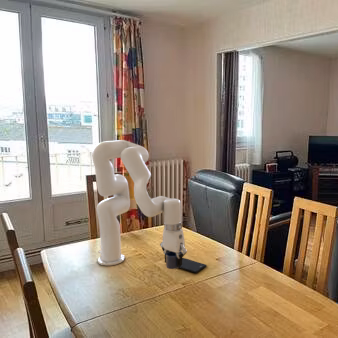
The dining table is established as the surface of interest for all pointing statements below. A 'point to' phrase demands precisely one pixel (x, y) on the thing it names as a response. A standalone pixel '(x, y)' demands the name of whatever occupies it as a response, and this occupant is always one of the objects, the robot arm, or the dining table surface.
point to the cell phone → (191, 265)
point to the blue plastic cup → (171, 260)
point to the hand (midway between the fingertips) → (173, 263)
